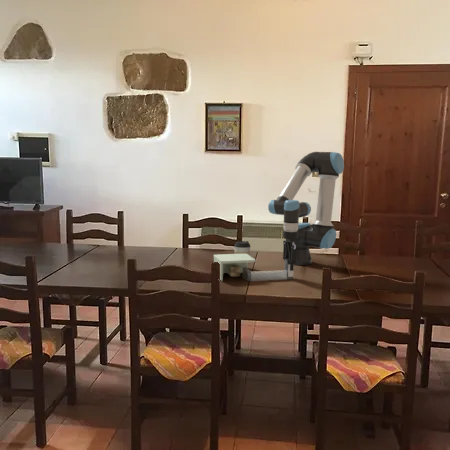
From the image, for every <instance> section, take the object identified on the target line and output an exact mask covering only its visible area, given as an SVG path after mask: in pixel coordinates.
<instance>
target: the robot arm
mask: <svg viewBox="0 0 450 450" xmlns="http://www.w3.org/2000/svg"><path fill="white" fill-rule="evenodd" d="M294 169H295V170H294V172H293V173H292V174H291V177H290V178H289V179H288V182H286V184H285V186H284V187H283V188H282V190H281V192H280V193H279V195H278V196H277V198H276V199H271V200H270V201H269V203H268V205H267V209H268V213H270V214H272V215H278V216H279V215H280V216H283V224H282V228H283V232H282V237H283V239H285V240H283V247H282V248H283V251H282V252H283V254H282V260H284V262H285V259H289V263H288V277H293V278H294V271H295V270H294V269H295V265H296V266H306V265H312V255H311V251H310V247H313V248H317V249H325V250H329V249H331V248H332V247H333V246H334V244H335V242H336V239H337V230H336V229H335V228H334V224H333V223H332V215H333V207H334V206H333V205H334V199H335V190H336V182H337V179H339V177H340V174H343V172H344V169H345V162H344V158H343V155H342V154H341V153H340V152H336V151H335V152H334V151H328V152H327V151H313V152H310V153H307V154H306V155H304V156H303V157H302V158H301V159H300V160H299V161H298V162H297V164H296V165H295V168H294ZM313 173H317V176H318V178H319V186H318V196H317V205H316V212H315V213H316V214H315V221H313V222H312V225H311V223H310V222H299V219H300V218H305V217H307V216H309V215H310V214H311V211H312V207H311V205H310V203H308V202H306V201H305V202H304V201H301V202H300V201H299V200H297V199H295V197H296V196H297V194H298V193H299V191H300V190H301V187H302V186H303V184H304V183H305V181H306V180H307V178H308V177H310V176H311V174H313ZM283 270H285V267H284V269H283Z"/></svg>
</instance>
